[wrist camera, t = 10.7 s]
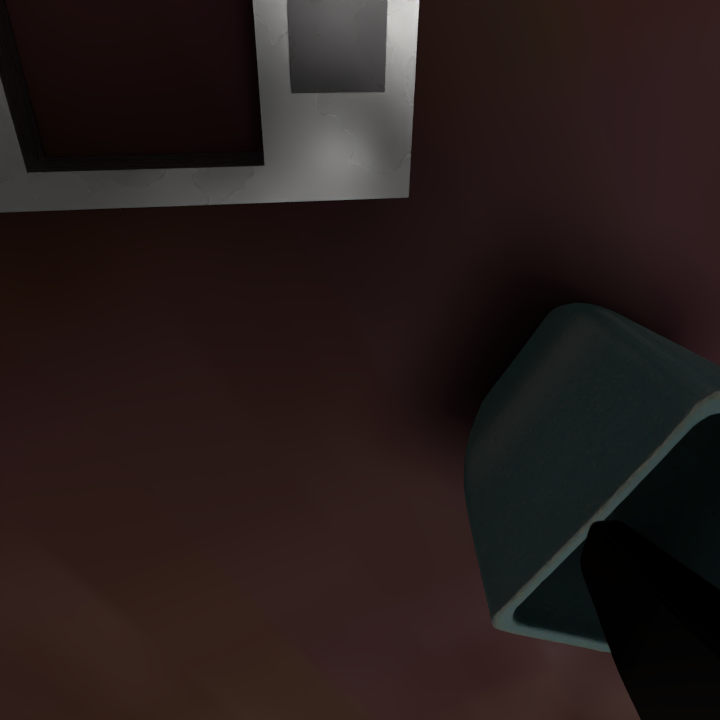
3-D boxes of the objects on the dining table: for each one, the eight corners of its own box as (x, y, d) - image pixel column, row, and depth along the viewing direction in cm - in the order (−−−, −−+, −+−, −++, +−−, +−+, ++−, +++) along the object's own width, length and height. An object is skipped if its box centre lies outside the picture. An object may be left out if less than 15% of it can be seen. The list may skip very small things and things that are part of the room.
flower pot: (574, 484, 27) (698, 677, 20) (411, 428, 24) (485, 632, 16) (713, 328, 24) (928, 491, 16) (544, 237, 20) (715, 387, 13)
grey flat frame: (-99, 198, 17) (-131, 218, 15) (-252, -186, 12) (-318, -208, 11) (397, 181, 19) (409, 198, 17) (411, -157, 14) (429, -172, 13)
